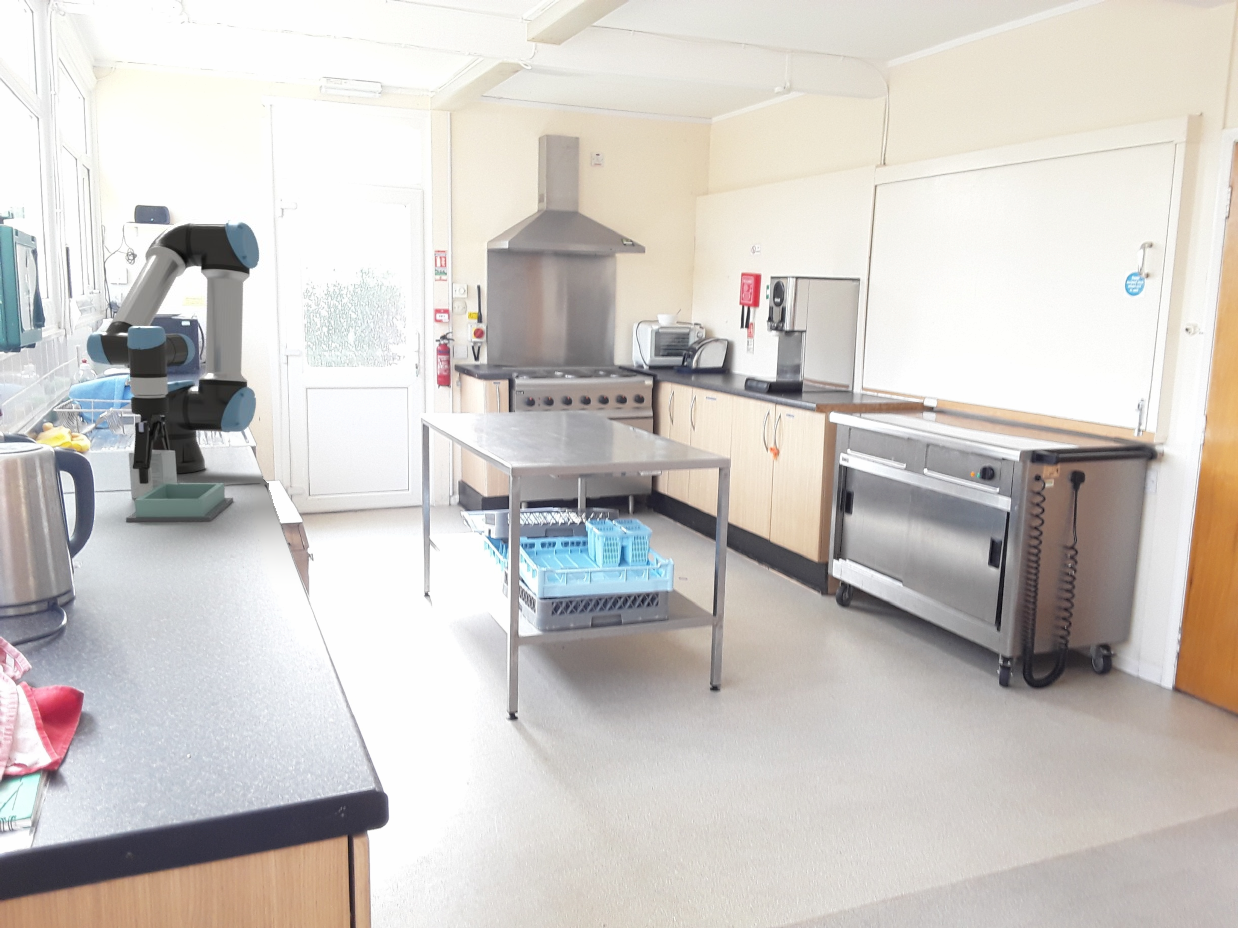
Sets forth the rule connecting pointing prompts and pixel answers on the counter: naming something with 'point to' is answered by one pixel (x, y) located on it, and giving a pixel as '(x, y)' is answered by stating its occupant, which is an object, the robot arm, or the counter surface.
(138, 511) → the caddy
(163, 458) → the small box
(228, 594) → the counter surface
